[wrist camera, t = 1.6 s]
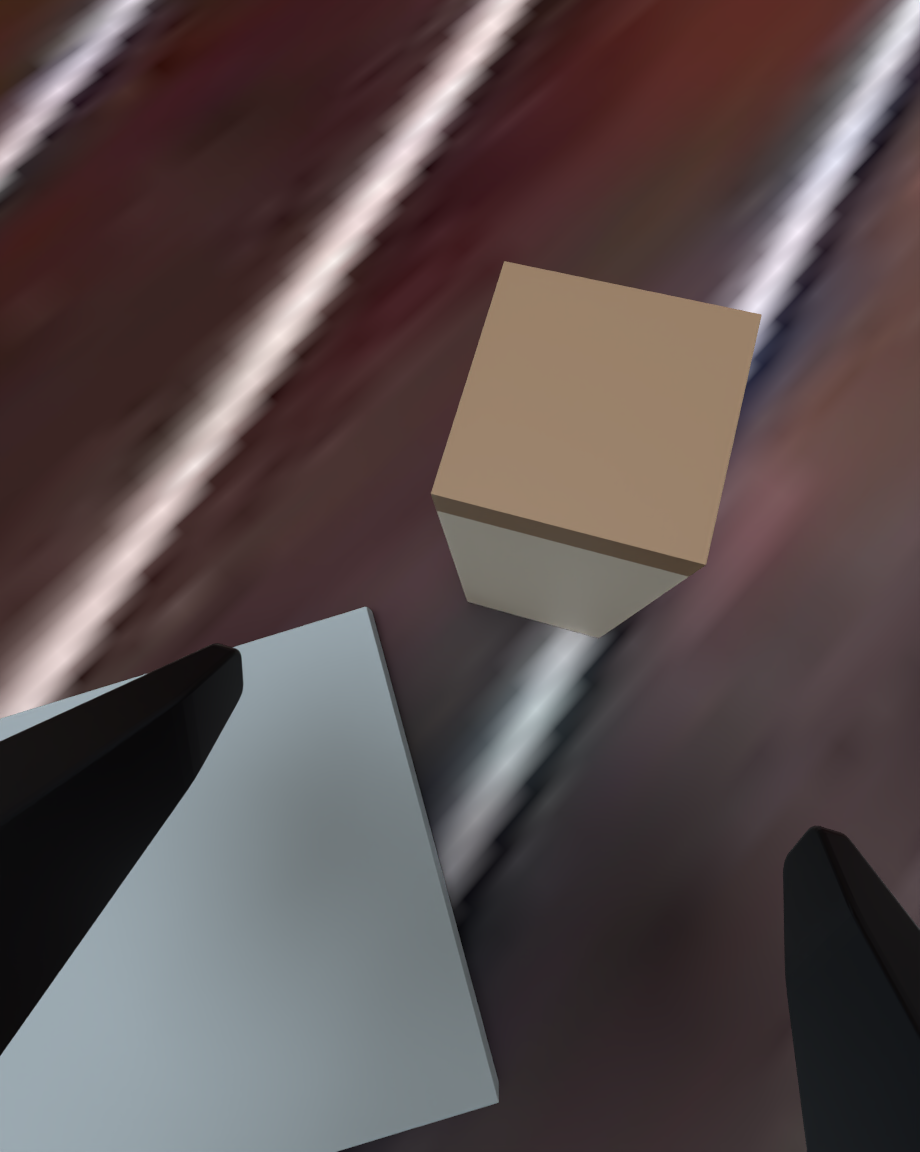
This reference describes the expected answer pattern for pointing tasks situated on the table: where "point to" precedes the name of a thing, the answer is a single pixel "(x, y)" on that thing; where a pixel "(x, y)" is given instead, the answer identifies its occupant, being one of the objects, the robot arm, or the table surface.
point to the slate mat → (265, 941)
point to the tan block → (590, 447)
